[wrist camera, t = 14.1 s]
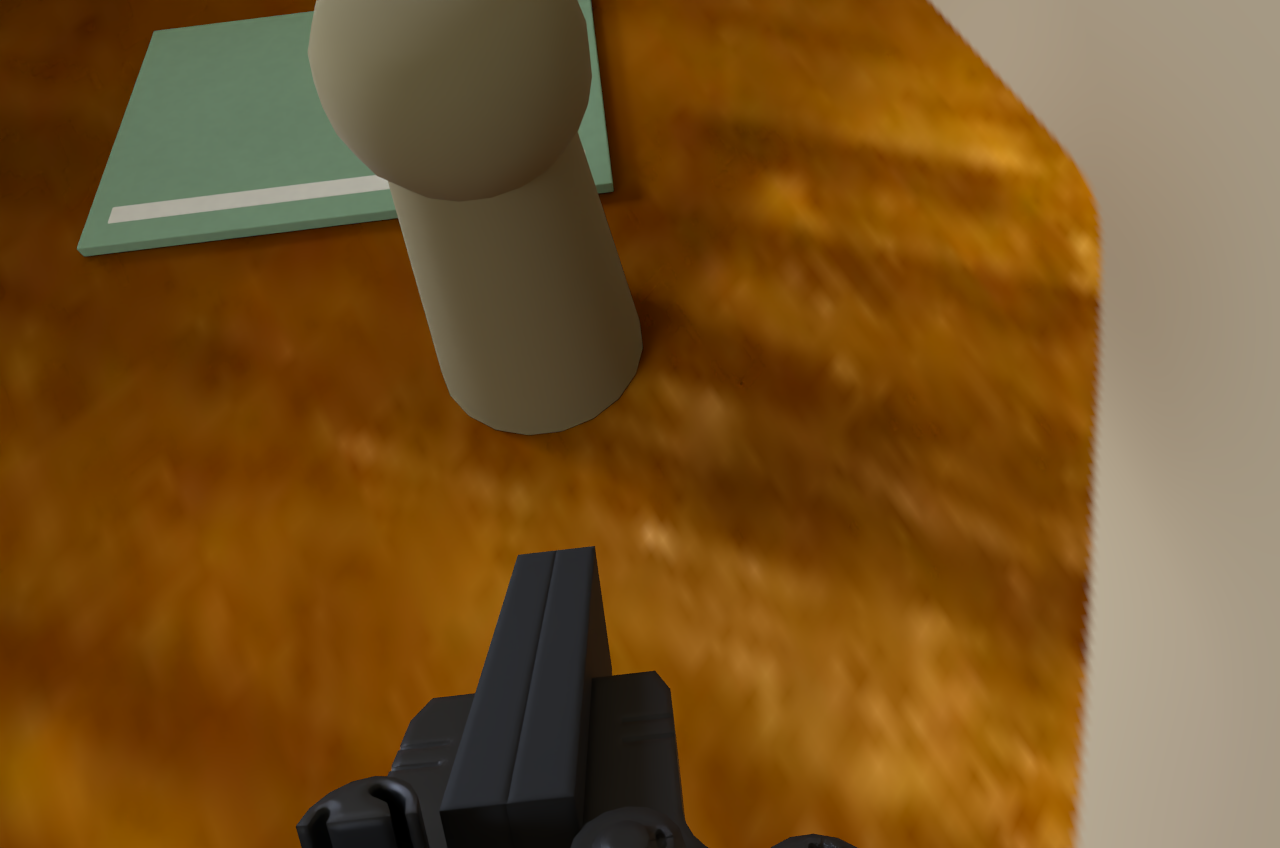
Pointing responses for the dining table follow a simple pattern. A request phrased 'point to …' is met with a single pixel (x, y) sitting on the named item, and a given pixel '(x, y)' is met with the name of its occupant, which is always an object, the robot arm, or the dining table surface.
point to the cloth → (249, 143)
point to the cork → (489, 194)
